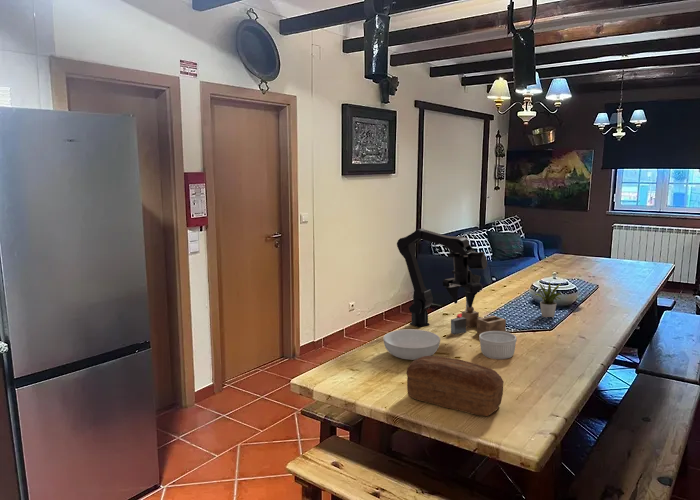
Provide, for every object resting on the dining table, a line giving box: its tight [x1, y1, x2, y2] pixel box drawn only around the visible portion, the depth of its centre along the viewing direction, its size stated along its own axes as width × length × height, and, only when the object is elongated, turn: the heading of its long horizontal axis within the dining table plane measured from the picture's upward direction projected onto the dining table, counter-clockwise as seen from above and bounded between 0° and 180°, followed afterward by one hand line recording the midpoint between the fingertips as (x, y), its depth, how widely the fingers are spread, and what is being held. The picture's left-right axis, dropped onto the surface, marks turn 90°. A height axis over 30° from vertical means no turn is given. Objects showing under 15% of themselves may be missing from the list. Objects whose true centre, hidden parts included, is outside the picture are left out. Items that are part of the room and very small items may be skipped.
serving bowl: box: [382, 328, 441, 361], centre depth 195 cm, size 21×21×7 cm
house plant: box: [531, 281, 563, 318], centre depth 237 cm, size 14×14×16 cm
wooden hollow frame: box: [461, 306, 507, 335], centre depth 222 cm, size 9×19×9 cm, turn 28°
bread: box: [406, 355, 504, 417], centre depth 156 cm, size 14×28×12 cm, turn 55°
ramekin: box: [478, 331, 518, 360], centre depth 193 cm, size 13×13×7 cm
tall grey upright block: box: [450, 317, 467, 336], centre depth 219 cm, size 6×2×6 cm, turn 118°
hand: (462, 305), depth 218 cm, fingers open, 9 cm apart
